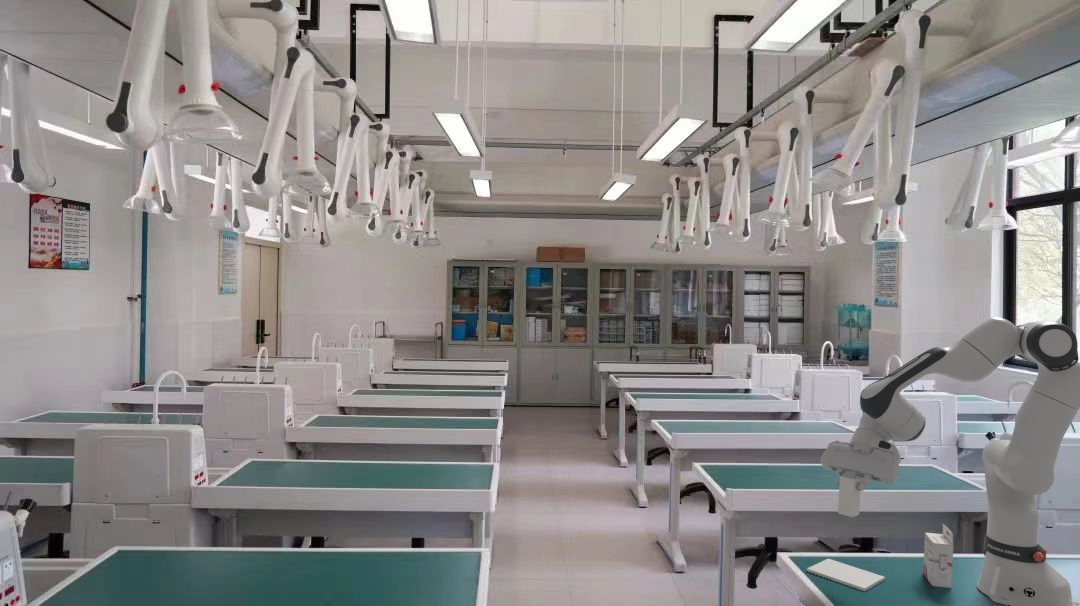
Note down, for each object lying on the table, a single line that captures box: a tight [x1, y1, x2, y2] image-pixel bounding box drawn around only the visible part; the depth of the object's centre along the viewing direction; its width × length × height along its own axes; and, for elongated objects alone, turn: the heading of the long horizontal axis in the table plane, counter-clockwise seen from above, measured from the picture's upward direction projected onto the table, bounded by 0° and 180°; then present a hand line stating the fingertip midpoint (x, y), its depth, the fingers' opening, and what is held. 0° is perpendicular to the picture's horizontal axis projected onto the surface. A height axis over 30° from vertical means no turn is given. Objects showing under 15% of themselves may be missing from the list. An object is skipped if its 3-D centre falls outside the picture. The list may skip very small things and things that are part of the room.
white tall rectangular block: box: [837, 471, 862, 518], centre depth 197 cm, size 4×4×11 cm
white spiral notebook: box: [806, 558, 886, 592], centre depth 198 cm, size 16×12×1 cm
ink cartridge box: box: [922, 523, 954, 589], centre depth 196 cm, size 9×5×15 cm, turn 169°
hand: (848, 487), depth 197 cm, fingers closed on white tall rectangular block, 4 cm apart
